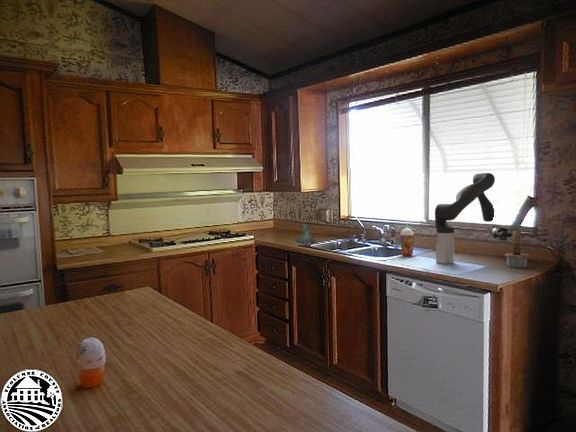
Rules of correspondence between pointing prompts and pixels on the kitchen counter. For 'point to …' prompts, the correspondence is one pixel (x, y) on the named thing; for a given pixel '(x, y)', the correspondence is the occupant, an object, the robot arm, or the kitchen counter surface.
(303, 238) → the tree stump
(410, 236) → the smoothie
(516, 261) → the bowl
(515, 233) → the wooden post stand
